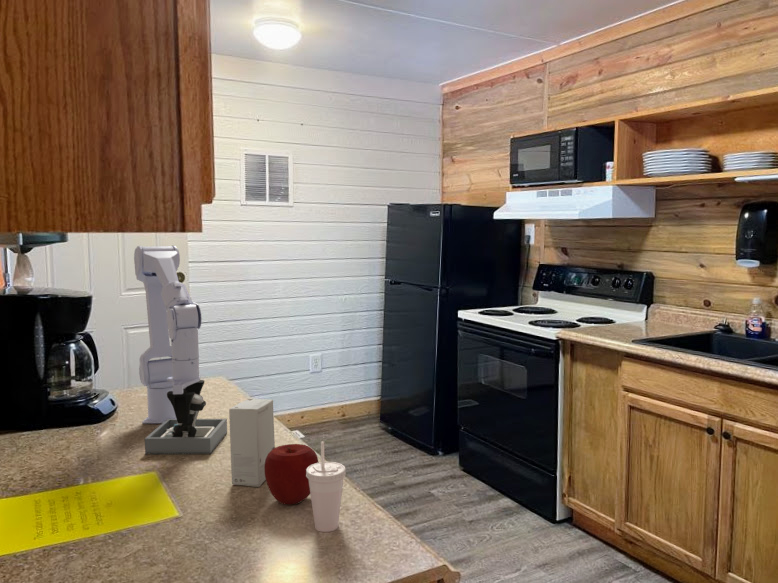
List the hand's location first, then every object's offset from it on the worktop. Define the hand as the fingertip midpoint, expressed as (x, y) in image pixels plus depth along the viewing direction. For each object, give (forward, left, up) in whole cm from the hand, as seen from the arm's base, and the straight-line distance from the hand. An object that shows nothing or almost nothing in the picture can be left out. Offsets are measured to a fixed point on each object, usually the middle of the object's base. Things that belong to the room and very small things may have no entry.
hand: (187, 417), depth 139 cm
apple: (+30, +28, -6) cm, 41 cm away
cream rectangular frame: (0, 0, -6) cm, 6 cm away
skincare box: (+20, +19, -6) cm, 28 cm away
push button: (0, -2, -4) cm, 5 cm away
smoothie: (+40, +35, -6) cm, 54 cm away
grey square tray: (0, 0, -6) cm, 6 cm away
